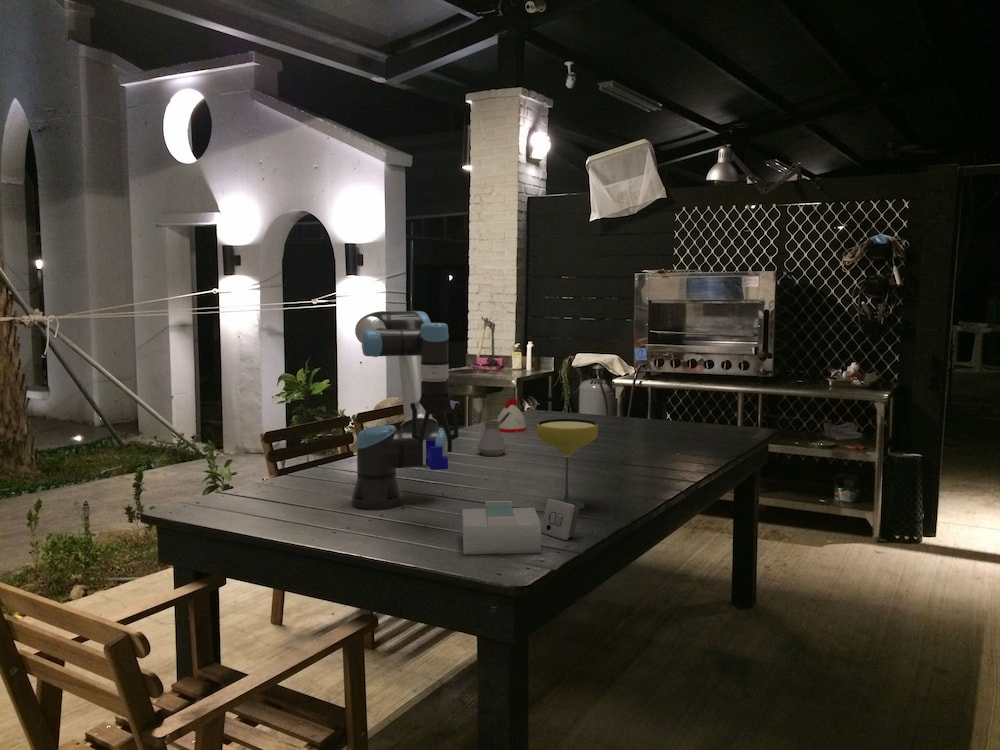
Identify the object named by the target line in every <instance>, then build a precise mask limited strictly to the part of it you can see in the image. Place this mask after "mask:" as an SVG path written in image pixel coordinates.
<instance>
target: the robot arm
mask: <svg viewBox="0 0 1000 750" xmlns="http://www.w3.org/2000/svg"><path fill="white" fill-rule="evenodd" d="M354 331H355V332H354V333H355V337H356V338H357V340H358V342H360V343H361V349H362V354H363V356H365V357H373V358H377V357H398V365H399V366H398V367H399V374H400V375H399V376H400V386H401V396H402V404H403V405H402V406H403V416H404V420H403V422H402V423H401V424H400V429H397V427H396V426H395V425H393V424H387V425H386V424H382V425H381V424H380V425H375V426H369V427H366V428H364V429H362V430H360V431H359V432H358V433H357V435H356V445H355V449H356V472H357V473H356V477H357V478H356V482H355V485H354V488H353V491H352V494H351V506H352V507H354V506H355V508H357V507H358V508H357V509H361V508H362V510H386V509H391V508H395V507H399V506H400V505H401V504H403V493H402V491H401V488H400V485H399V482H398V479H397V469H408V468H409V469H410V468H429V466H428V465H427V464H426V440H435V447H436V446H442V456H446V457H447V458H448V459H449V455H448V453H452V450H453V446H452V445H453V440H455V439H458V438H459V420H458V419H459V415H458V411H459V407H460V402H459V401H454V400H451V398H450V396H449V395H450V393H449V390H450V389H449V385H450V384H449V380H447V379H449V373H450V372H449V368H450V367H449V338H450V335H449V326H448V324H447V323H446V322H445V323H444V322H431V319H430V317H429V315H428V314H427V313H426V312H425V311H419V310H410V311H409V310H405V311H403V310H401V311H399V310H398V311H393V310H392V311H391V310H390V311H387V310H386V311H385V310H381V311H380V310H379V311H375V312H371V313H369V314H366V315H364V316H363V317H361V318H360V319H359V320H358V321H357V323H356V325H355V328H354ZM449 405H450V408H451V409H452V410H453V411H452V415H453V416H452V420H453V423H452V424H453V433H452V432H451V430H450V427H449V422H448V419H447V416H446V410H447V408H448V406H449ZM435 414H436V415H440V418H441V422H442V424H443V427H439V422H438V420H437V419H435V418H434V417H433V415H435ZM446 438H447V439H446Z"/></svg>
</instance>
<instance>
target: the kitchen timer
mask: <svg viewBox="0 0 1000 750" xmlns="http://www.w3.org/2000/svg"><path fill="white" fill-rule="evenodd" d="M518 403H519V400H517V398H516V397H514V398H513V397H511V398H508V400H506V403H505V404H504V408H503V409H502V410H501V411H500V413H499V414H498V415H497V420H496V421H498V422H500V421H501V420H502V418H503V417H504V416H506V414H507V413H508V412H510V414H509V416H508V417H507V418H506V420H505V421H504V422H503V423H502V424H500V426H499V427H498V428H499V430H500V432H501V433H508V434H510V433H515V434H516V433H523V432H526V431H527V424H526V419H525V416H524V415H523V413H522V411H521V410H520V409H519V408H518V406H517V405H518ZM511 413H512V414H511Z"/></svg>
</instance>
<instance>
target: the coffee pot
mask: <svg viewBox="0 0 1000 750" xmlns="http://www.w3.org/2000/svg"><path fill="white" fill-rule="evenodd" d="M509 414H510V412H508V413H507V414H506V416H504V417H503V418H502V420H501V421H500V422H498V421H497V420H488V421H484V422H483V424H484V426H485V428H484V430H483V433H482V434H481V437H480V440H479V443H478V445H477V449H478V451H479V453H481V454H482V456H486V457H499V456H502V454H503V453H505V452H506V449H507V444H506V442H505V440H504V437H503V435H502V432H500V430H499V428H498V427H499V426H500V424H502V423H503V422H504V421H505V420H506V418H507V417H508V416H509ZM511 414H512V413H511Z"/></svg>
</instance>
